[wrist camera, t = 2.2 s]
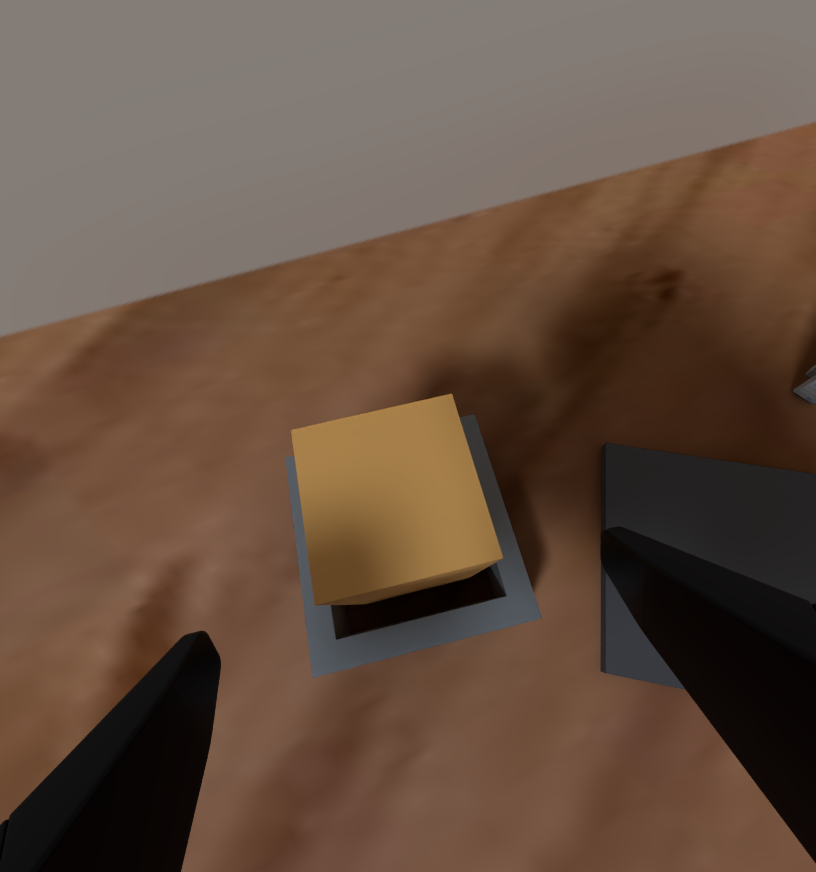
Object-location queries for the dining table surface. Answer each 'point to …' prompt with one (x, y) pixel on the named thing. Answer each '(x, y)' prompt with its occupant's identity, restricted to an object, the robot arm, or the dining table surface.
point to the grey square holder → (507, 608)
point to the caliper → (808, 387)
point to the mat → (703, 533)
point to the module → (391, 503)
